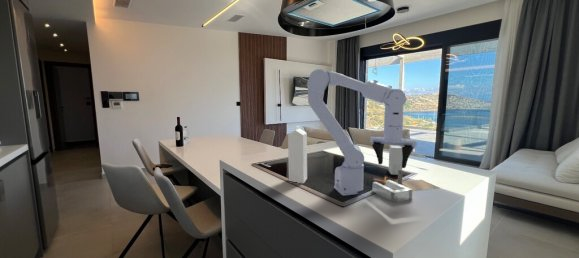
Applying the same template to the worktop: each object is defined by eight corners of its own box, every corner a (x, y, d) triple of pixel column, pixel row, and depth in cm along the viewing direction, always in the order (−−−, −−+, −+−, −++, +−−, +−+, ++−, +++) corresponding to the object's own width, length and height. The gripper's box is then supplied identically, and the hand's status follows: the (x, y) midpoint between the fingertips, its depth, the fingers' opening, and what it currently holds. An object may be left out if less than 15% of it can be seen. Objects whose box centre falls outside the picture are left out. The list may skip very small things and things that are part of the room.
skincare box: (402, 177, 100) (403, 148, 99) (390, 176, 101) (392, 148, 100) (398, 172, 106) (399, 145, 105) (388, 172, 107) (389, 145, 105)
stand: (402, 194, 83) (403, 174, 82) (387, 185, 91) (387, 167, 90) (440, 190, 85) (441, 171, 85) (421, 182, 94) (422, 164, 93)
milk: (288, 182, 96) (287, 126, 94) (293, 177, 102) (291, 124, 99) (303, 183, 95) (302, 126, 92) (307, 178, 100) (306, 124, 97)
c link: (412, 200, 77) (412, 189, 76) (393, 204, 74) (394, 192, 74) (389, 189, 86) (389, 179, 86) (372, 192, 84) (372, 182, 83)
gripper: (367, 125, 83) (366, 164, 85) (414, 128, 74) (412, 172, 76) (375, 123, 89) (374, 160, 91) (419, 126, 80) (417, 167, 81)
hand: (391, 165), depth 84 cm, fingers open, 7 cm apart
